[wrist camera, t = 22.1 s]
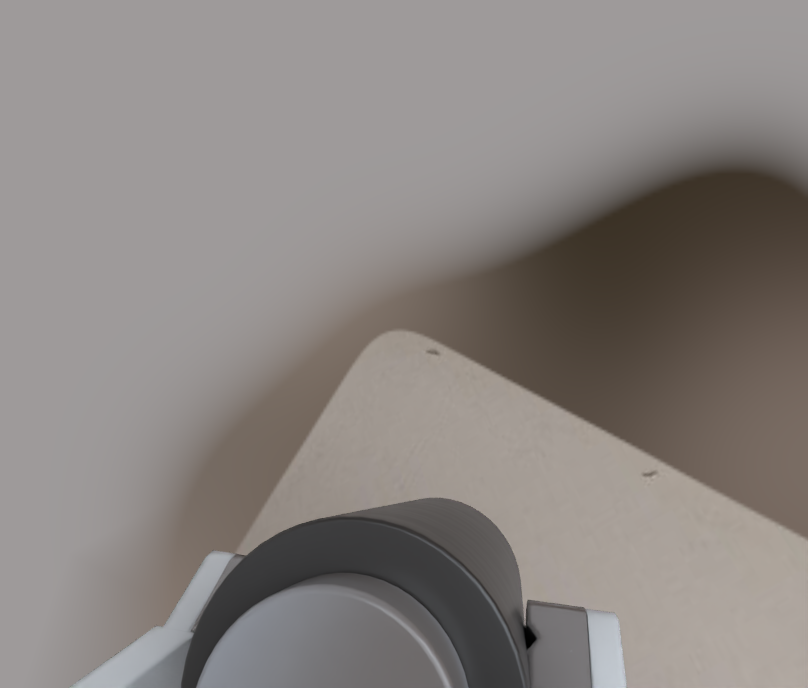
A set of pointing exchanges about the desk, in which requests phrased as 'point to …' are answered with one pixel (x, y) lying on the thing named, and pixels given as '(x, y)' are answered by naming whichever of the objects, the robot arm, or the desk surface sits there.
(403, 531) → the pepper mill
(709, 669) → the desk surface
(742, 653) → the desk surface
